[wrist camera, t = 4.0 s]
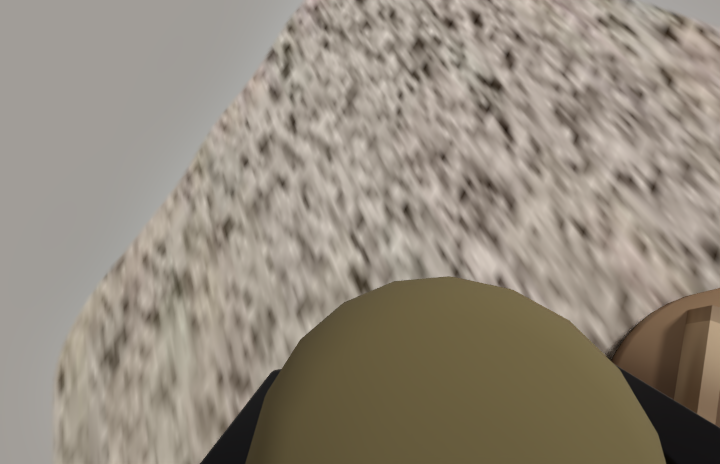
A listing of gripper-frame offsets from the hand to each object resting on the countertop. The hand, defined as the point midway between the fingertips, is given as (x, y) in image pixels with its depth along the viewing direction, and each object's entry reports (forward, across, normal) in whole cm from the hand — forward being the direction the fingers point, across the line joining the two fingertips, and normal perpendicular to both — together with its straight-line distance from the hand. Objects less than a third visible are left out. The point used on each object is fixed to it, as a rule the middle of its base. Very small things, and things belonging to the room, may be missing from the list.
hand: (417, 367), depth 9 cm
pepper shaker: (+4, 0, +6) cm, 7 cm away
